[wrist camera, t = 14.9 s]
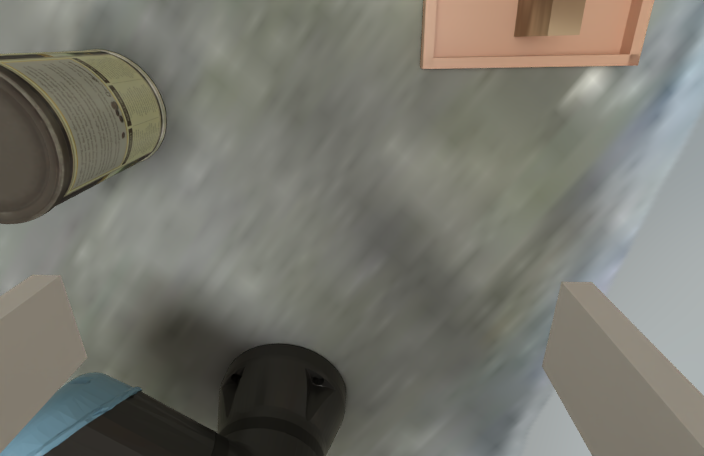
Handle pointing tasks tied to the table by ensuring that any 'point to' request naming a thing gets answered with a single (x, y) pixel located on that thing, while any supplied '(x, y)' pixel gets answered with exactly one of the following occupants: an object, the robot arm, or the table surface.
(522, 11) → the tan wooden piece
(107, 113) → the coffee can
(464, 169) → the table surface
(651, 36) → the table surface
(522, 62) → the tray
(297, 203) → the table surface
